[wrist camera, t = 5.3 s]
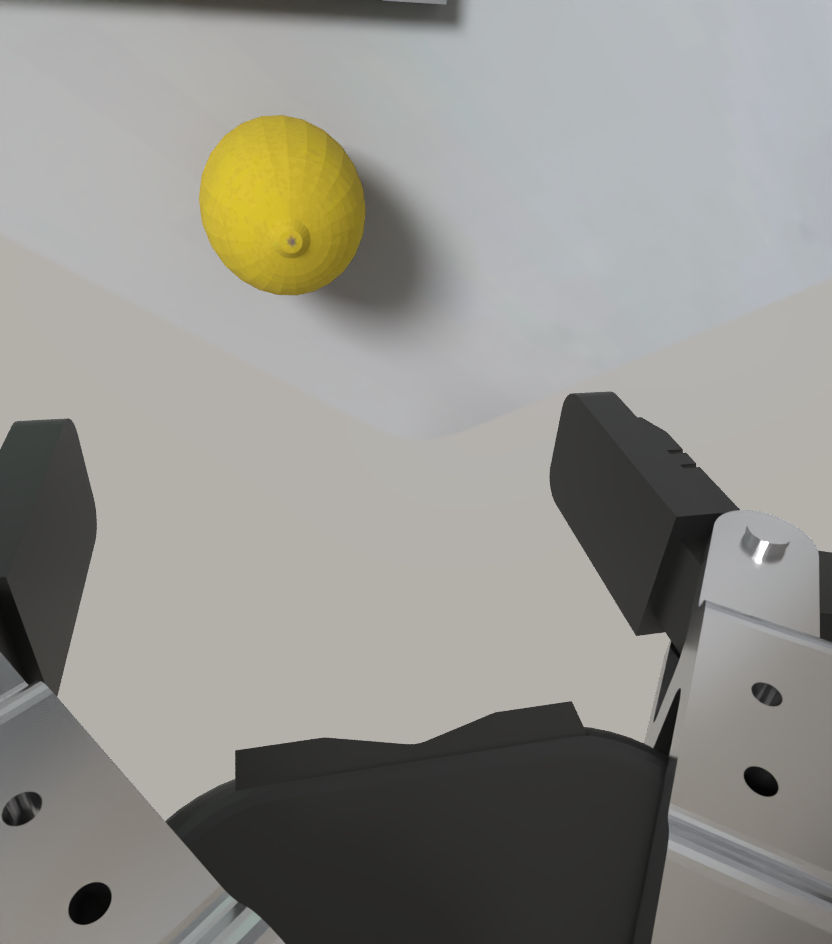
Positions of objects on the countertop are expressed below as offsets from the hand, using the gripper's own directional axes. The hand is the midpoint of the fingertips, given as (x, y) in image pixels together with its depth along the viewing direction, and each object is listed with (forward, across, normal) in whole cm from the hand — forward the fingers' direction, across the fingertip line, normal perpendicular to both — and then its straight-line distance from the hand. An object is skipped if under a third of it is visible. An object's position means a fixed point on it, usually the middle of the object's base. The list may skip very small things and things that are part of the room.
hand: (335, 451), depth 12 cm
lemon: (+20, 0, 0) cm, 20 cm away
